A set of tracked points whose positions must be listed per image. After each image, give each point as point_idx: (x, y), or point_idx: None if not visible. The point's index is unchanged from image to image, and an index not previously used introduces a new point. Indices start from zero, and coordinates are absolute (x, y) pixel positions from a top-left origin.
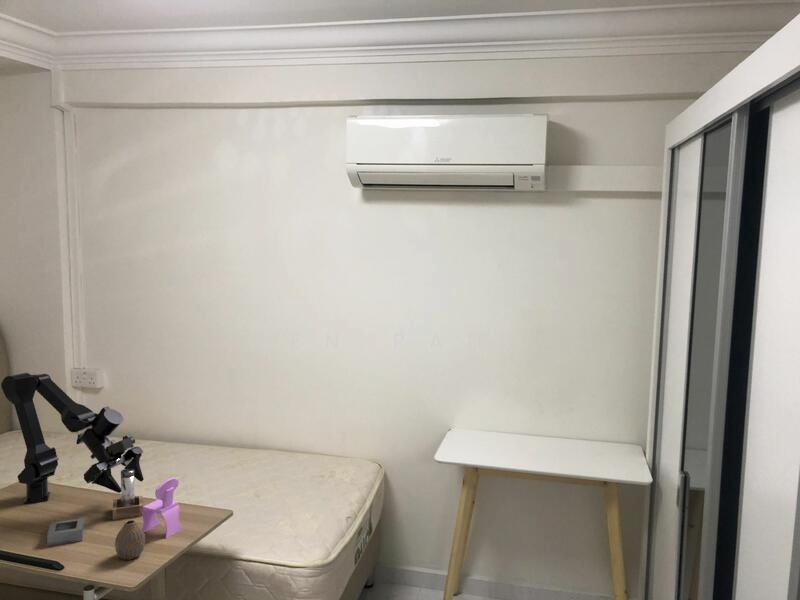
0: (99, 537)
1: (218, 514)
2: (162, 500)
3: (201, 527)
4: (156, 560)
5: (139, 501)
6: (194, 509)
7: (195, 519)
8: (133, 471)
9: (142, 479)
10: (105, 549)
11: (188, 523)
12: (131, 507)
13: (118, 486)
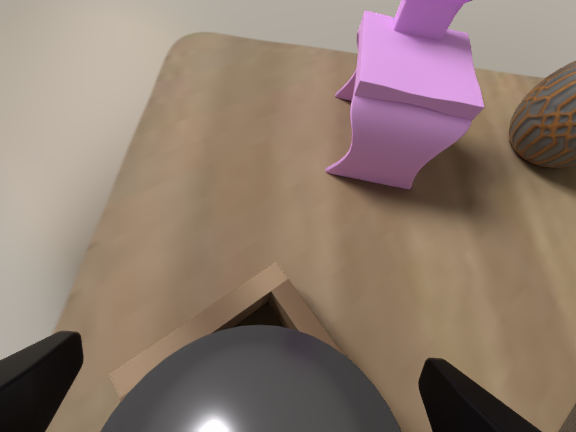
0: (521, 329)
1: (210, 45)
2: (463, 1)
3: (309, 58)
4: (506, 86)
5: (224, 321)
6: (175, 115)
7: (261, 86)
8: (239, 327)
9: (76, 337)
10: (558, 238)
11: (295, 94)
12: (314, 316)
13: (483, 395)
